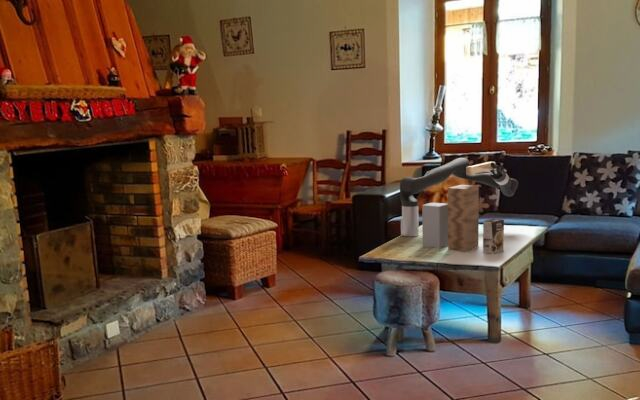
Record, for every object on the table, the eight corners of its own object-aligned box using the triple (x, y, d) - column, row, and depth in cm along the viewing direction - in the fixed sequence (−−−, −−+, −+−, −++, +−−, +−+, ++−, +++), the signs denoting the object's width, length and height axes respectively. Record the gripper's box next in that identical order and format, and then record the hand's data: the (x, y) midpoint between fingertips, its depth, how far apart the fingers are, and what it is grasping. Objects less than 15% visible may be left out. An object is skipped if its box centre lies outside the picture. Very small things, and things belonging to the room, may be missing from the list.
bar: (466, 174, 317) (466, 167, 316) (489, 168, 338) (490, 161, 337) (472, 175, 315) (472, 167, 314) (495, 169, 336) (495, 161, 335)
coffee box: (493, 254, 302) (493, 222, 300) (482, 252, 307) (482, 220, 305) (504, 251, 308) (504, 219, 305) (493, 249, 313) (493, 217, 310)
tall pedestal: (448, 249, 315) (447, 187, 310) (460, 244, 325) (460, 184, 320) (465, 252, 308) (465, 189, 304) (478, 246, 319) (478, 185, 314)
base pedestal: (422, 246, 324) (422, 205, 321) (432, 242, 332) (431, 202, 329) (439, 248, 318) (439, 206, 315) (448, 244, 326) (448, 203, 322)
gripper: (489, 169, 350) (477, 157, 338) (513, 170, 341) (502, 157, 329) (486, 181, 348) (474, 169, 336) (510, 183, 339) (499, 170, 327)
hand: (488, 163), depth 332 cm, fingers closed on bar, 3 cm apart
